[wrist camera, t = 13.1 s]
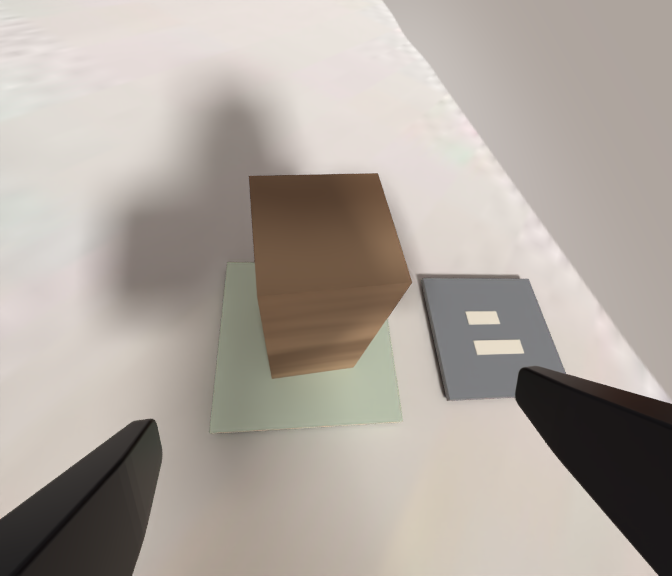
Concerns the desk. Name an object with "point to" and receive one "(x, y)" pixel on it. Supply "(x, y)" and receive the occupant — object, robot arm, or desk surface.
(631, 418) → the robot arm
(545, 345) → the slate tile
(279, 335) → the walnut block
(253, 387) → the sage plate
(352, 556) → the desk surface
